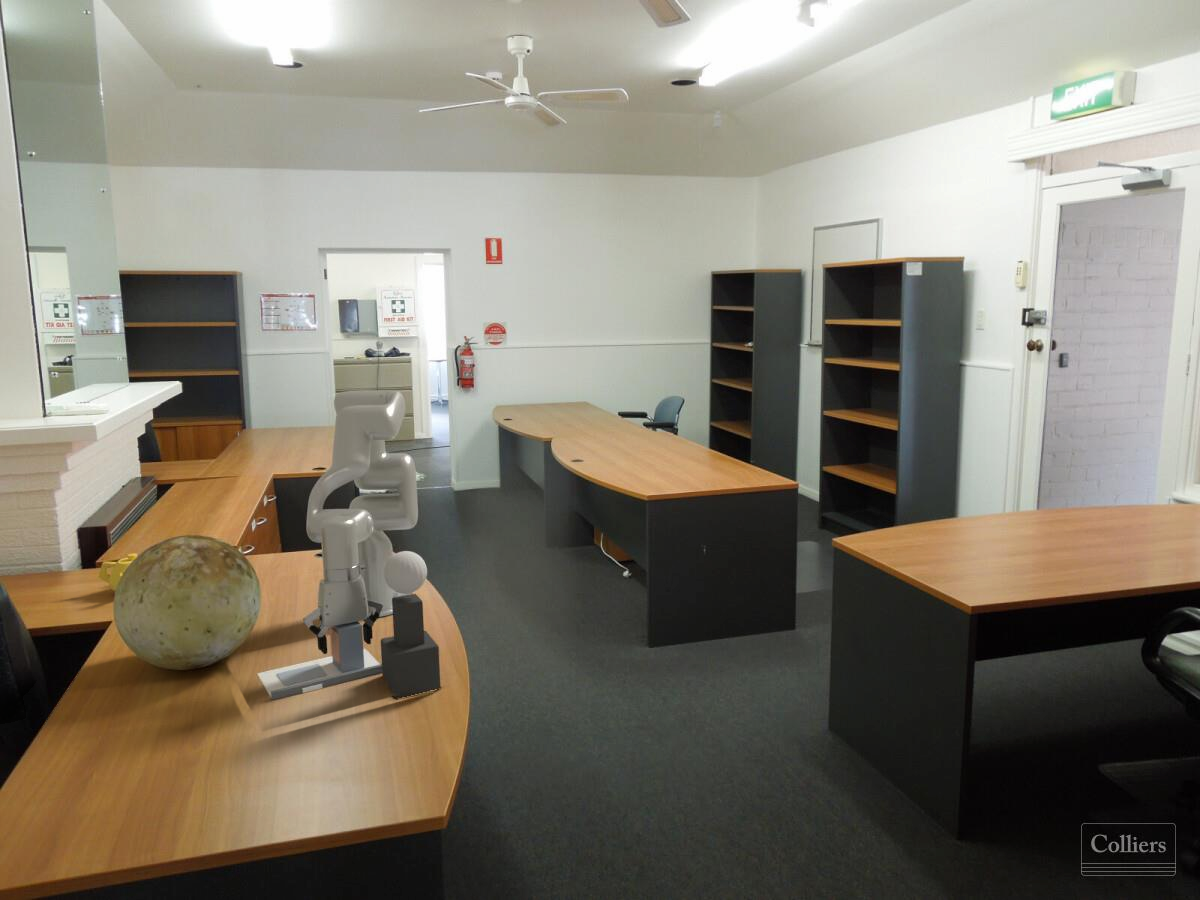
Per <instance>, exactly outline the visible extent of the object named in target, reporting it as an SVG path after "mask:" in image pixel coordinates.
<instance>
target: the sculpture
mask: <svg viewBox="0 0 1200 900" xmlns="http://www.w3.org/2000/svg"><path fill="white" fill-rule="evenodd" d="M384 577H385V580H386V583H387V585H388V586H389V587H390V588H391V589H392V590H394V591H396V592H398V593H403V594H407V593H413V592H416V591H417V590H419V589H420V588H422V586H423V585H424V583H425V582H426V580H427V577H428V568H427V564H426V562H425V560H424V559H423V558H422V556H421V555H419V554H418V553H416V552H414V551H409V550H403V551H398V552H395V554H393V556H392V557H391V558H390V559H389V560H388V561H387V563H386V565H385V569H384ZM392 610H393V614H392V623H393V624H392V625H393V626H392V627H393V636H388V637H384V638H383V637H382V638H381V639H380V653H381V654H380V656H381V657H380V658H381V664H382V673H381V674H382V678H383V679H384V681H385V683H386V684H387V686H388V688H389V689H390V691H391V693H392V694H393V695H392V696H391V697H392V699H393V700H394V699H397V700H399V699H398V698H402V697H406V698H408V697H407V696H411V695H415V694H419V693H423V692H427V691H430V690H435V689H439V688H440V687H441V669H440V666H441V665H440V649H439V645H438V644H437V643H436V641H435V640H434V639H433V637H432V636H431V635H430V634H429V632H428V631H427V630H425V626H424V625H425V623H424V603H423V600H422V599H421V598H420V597H419V596H418V595H417V594H416V593H413V594H411V595H405V596H399V597H393V598H392ZM440 689H441V688H440ZM415 696H416V695H415ZM411 697H412V696H411ZM402 699H403V698H402Z"/></svg>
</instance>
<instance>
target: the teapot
mask: <svg viewBox="0 0 1200 900" xmlns="http://www.w3.org/2000/svg"><path fill="white" fill-rule="evenodd" d="M140 554H141V553H138V554H137V553H134V552H133V553H129V554H127V555H126V557H124V558H121V559H119V560H117V561H103V562H102V563H101V567H100V571H99V572H98V573H99V574H98V578H100V579H101V580H102V581H104V582H106V583H107V584H108V585H109V587H110V589H111V590H113V592H114V593H115V592H116V588H117V585H118V583H119V581H120V579H121V577H122V575H123V573H124V572H125V570H126V569H127V567H128V566H129V565H130V564H131V562H132V561H133V560H134V559H135V558H136V557H137V556H139V555H140ZM108 567H109V568H112V570H111V572H110V574H109V573H108Z"/></svg>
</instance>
